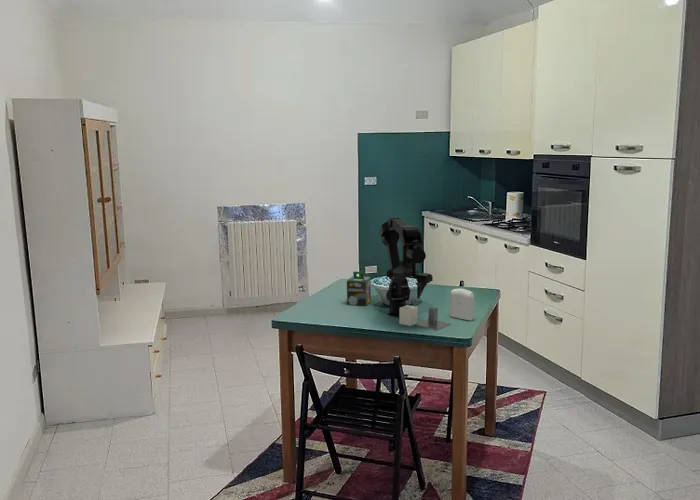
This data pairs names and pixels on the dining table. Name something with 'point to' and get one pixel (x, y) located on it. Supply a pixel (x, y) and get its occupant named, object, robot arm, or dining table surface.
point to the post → (432, 321)
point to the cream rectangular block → (408, 315)
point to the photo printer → (462, 304)
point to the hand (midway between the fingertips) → (408, 296)
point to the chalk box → (358, 290)
